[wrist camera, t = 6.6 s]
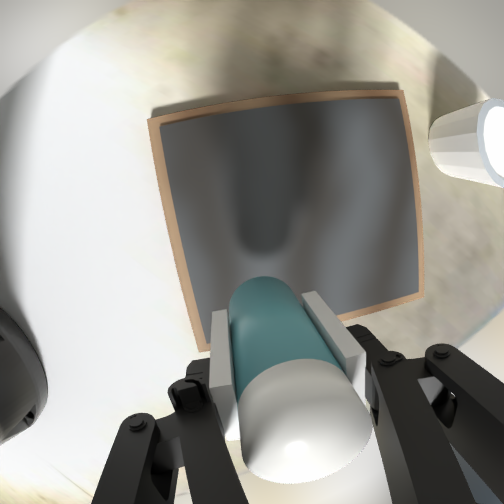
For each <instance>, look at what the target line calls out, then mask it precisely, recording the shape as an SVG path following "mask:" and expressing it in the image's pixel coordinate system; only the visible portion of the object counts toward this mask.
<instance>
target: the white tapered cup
mask: <svg viewBox="0 0 504 504" xmlns="http://www.w3.org/2000/svg"><path fill="white" fill-rule="evenodd" d="M428 142H429V149H430V154H431V156H432V158H433V161H434V163H435V165H436V166H437V167H438V168H439V169H440V170H441V171H442V172H443V173H445V174H447V175H449V176H452V177H457V178H462V179H467V180H471V181H476V182H480V183H485V184H489V185H493V186H497V187H501V188H504V101H503V100H501V99H495V98H491V99H488V100H485V101H482V102H479V103H476V104H474V105H471V106H468V107H465V108H462V109H459V110H457V111H454V112H451V113H448V114H446V115H443V116H441V117H439V118H438V119H436V120H435V121H434V123H433V124H432V126H431V128H430V132H429V138H428Z"/></svg>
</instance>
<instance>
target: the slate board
mask: <svg viewBox="0 0 504 504" xmlns="http://www.w3.org/2000/svg"><path fill="white" fill-rule="evenodd" d="M147 122H148V129H149V135H150V141H151V147H152V153H153V158H154V164H155V169H156V175H157V180H158V185H159V190H160V195H161V200H162V205H163V210H164V215H165V220H166V224H167V229H168V233H169V238H170V242H171V247H172V251H173V255H174V259H175V264H176V268H177V272H178V276H179V280H180V284H181V288H182V292H183V296H184V300H185V303H186V307H187V311H188V315H189V318H190V322H191V326H192V329H193V333H194V336H195V340H196V343H197V347H198V350H199V352H205V351H210V348H211V325H212V312H214V311H219V310H225V309H227V313H228V317H229V304H230V300H231V297H232V295H233V293H234V292H235V290H236V289H237V288H238V287H239V286H240V285H241V284H243V283H244V282H246V281H247V280H250V279H252V278H255V277H261V276H269V277H274V278H277V279H279V280H281V281H283V282H284V283H286V284H287V285H288V286H289V287H290V288H291V290H292V291H293V293H294V294H295V296H296V297H297V299H298V300H299V302H300V304H301V305H302V307H303V303H302V296H301V294H303V293H307V292H312V291H316V292H317V293H318V295H319V296H320V297H321V298H322V299H323V301H324V302H325V303H326V304H327V305H328V307H329V308H330V309H331V310H332V311H333V313H334V314H335V315H336V316H337V318H338V319H339V320H340V321H345V320H349V319H353V318H356V317H360V316H363V315H367V314H370V313H374V312H377V311H381V310H384V309H387V308H391V307H394V306H397V305H401V304H404V303H407V302H410V301H413V300H416V299H420V298H423V297H424V244H423V225H422V211H421V199H420V189H419V180H418V171H417V164H416V156H415V150H414V143H413V137H412V131H411V126H410V120H409V115H408V110H407V105H406V101H405V96H404V92H403V90H343V91H324V92H309V93H298V94H287V95H278V96H269V97H261V98H254V99H246V100H240V101H233V102H227V103H221V104H215V105H210V106H205V107H199V108H194V109H189V110H185V111H180V112H175V113H171V114H167V115H162V116H158V117H154V118H150V119H147ZM229 322H230V318H229Z"/></svg>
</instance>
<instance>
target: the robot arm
mask: <svg viewBox="0 0 504 504" xmlns="http://www.w3.org/2000/svg"><path fill="white" fill-rule="evenodd" d="M301 296H302V303H303V308H304V310H305V311H306V313H307V315H308V316H309V318H310V319H311V321H312V322H313V324H314V326H315V327H316V329H317V330H318V332H319V333H320V335H321V337H322V338H323V340H324V341H325V343H326V345H327V346H328V348H329V349H330V351H331V352H332V354H333V356H334V357H335V359H336V360H337V362H338V364H339V365H340V367H341V368H342V370H343V372H344V373H345V375H346V376H347V378H348V380H349V381H350V383H351V384H352V386H353V388H354V389H355V391H356V392H357V394H358V396H359V397H360V399H361V400H362V402H363V404H364V405H365V407H366V399H367V401H368V402H369V404H370V416H371V419H372V423H373V427H374V431H375V434H376V438H377V442H378V446H379V450H380V453H381V457H382V461H383V465H384V469H385V473H386V477H387V482H388V486H389V490H390V495H391V499H392V504H478V503H476V502H475V500H474V498H473V495H472V493H471V491H470V488H469V486H468V483H467V481H466V479H465V476H464V474H463V472H462V470H461V467H460V465H459V463H458V461H457V458H456V456H455V454H454V452H453V450H452V448H451V445H452V446H453V447H454V448H455V449H456V450H457V451H458V453H459V454H460V455H461V456H462V457H463V458H464V460H465V461H466V462H467V463H468V464H469V465H470V466H471V467H472V469H473V470H474V471H475V472H476V473H477V474H478V475H479V477H480V478H481V479H482V480H483V481H484V482H485V483H486V484H487V486H488V487H489V488H490V489H491V490H492V492H493V493H494V494H495V495H496V496H497V497H498V498H499V499H500V501H501V502H502V503H503V504H504V383H502V382H501V381H500V380H498V379H497V378H496V377H494V376H493V375H492V374H490V373H489V372H488V371H486V370H485V369H484V368H482V367H481V366H480V365H478V364H477V363H475V362H474V361H473V360H471V359H470V358H469V357H467V356H466V355H465V354H463V353H462V352H461V351H459V350H458V349H456V348H455V347H453V346H451V345H449V344H435V345H432V346H430V347H429V348H427V350H426V351H425V357H423V358H416V359H406V358H405V356H404V355H403V354H401V353H399V352H395V351H388V350H387V349H386V348H385V347H384V346H383V345H382V343H381V342H380V341H379V340H378V339H377V338H376V337H375V336H374V335H373V334H372V333H371V332H370V331H369V330H368V329H367V328H366V327H364V326H361V325H359V324H356V325H353V326H349V327H345V326H344V325H343V324H342V322H341V321H340V320H339V319H338V318H337V316H336V315H335V314H334V313H333V311H332V310H331V309H330V308H329V307H328V305H327V304H326V303H325V302H324V301H323V299H322V298H321V297H320V296H319V295H318V293H317V292H316V291H312V292H307V293H303V294H301ZM451 392H452V393H453V394H454V395H455V396H454V395H453V394H451ZM47 393H48V392H47V382H46V378H45V374H44V371H43V368H42V365H41V363H40V361H39V358H38V356H37V354H36V352H35V351H34V349H33V347H32V345H31V344H30V342H29V340H28V339H27V337H26V336H25V335H24V333H23V332H22V330H21V329H20V328H19V327H18V325H17V324H16V323H15V322H14V321H13V320H12V319H11V318H10V317H9V316H8V315H7V314H6V313H5V312H4V311H3V310H2V309H1V308H0V445H2V444H3V443H5V442H7V441H8V440H10V439H11V438H13V437H15V436H16V435H18V434H19V433H21V432H22V431H24V430H26V429H27V428H29V427H30V426H32V425H33V424H34V423H35V421H36V420H37V419H38V417H39V415H40V414H41V412H42V411H43V409H44V407H45V405H46V402H47ZM168 395H169V398H170V400H171V403H172V405H173V407H174V410H175V412H174V413H172V414H171V415H169V416H166V417H163V418H160V419H157V420H155V419H154V417H153V416H152V415H150V414H148V413H137V414H133V415H131V416H129V417H127V418H126V419H125V420H124V421H123V422H122V424H121V425H120V428H119V430H118V433H117V435H116V438H115V441H114V443H113V446H112V448H111V451H110V454H109V456H108V459H107V461H106V464H105V467H104V469H103V472H102V475H101V478H100V480H99V483H98V486H97V489H96V491H95V494H94V497H93V500H92V503H91V504H174V498H175V491H176V484H177V478H178V471H179V468H180V467H183V466H185V470H186V475H187V480H188V485H189V489H190V494H191V497H192V502H193V504H249V503H248V500H247V498H246V496H245V493H244V491H243V488H242V486H241V483H240V480H239V478H238V475H237V473H236V470H235V467H234V465H233V462H232V459H231V457H230V454H229V451H228V449H227V446H226V443H225V437H226V440H227V441H232V440H238V439H240V431H239V421H238V411H237V397H236V386H235V375H234V364H233V352H232V340H231V328H230V322H229V317H228V313H227V309H225V310H219V311H214V312H212V325H211V348H210V358H205V359H199V360H193V361H192V362H191V363H190V364H189V365H188V367H187V370H186V377H185V378H183V379H180V380H178V381H176V382H175V383H173V384H172V385H171V386H170V387H169V388H168ZM450 444H451V445H450Z"/></svg>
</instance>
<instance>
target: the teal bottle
mask: <svg viewBox="0 0 504 504" xmlns="http://www.w3.org/2000/svg"><path fill="white" fill-rule="evenodd" d="M229 318H230V328H231V340H232V352H233V364H234V375H235V386H236V397H237V411H238V421H239V431H240V441H241V450H242V457H243V461H244V463H245V465H246V466H247V468H248V469H249V470H250V471H251V472H252V473H254V474H255V475H257V476H258V477H260V478H262V479H265V480H268V481H272V482H277V483H289V484H290V483H291V484H292V483H303V482H309V481H313V480H317V479H320V478H323V477H326V476H328V475H330V474H332V473H335V472H336V471H338V470H340V469H342V468H343V467H344V466H346V465H347V464H349V463H350V462H351V461H353V460H354V459H355V458H356V457H357V456H358V455H359V454H360V452H362V450H363V449H364V447H365V446H366V445H367V443H368V441H369V439H370V436H371V433H372V419H371V416H370V414H369V412H368V410H367V408H366V407H365V405H364V404H363V402H362V400H361V399H360V397H359V396H358V394H357V392H356V391H355V389H354V388H353V386H352V384H351V383H350V381H349V380H348V378H347V376H346V375H345V373H344V372H343V370H342V368H341V367H340V365H339V364H338V362H337V360H336V359H335V357H334V356H333V354H332V352H331V351H330V349H329V348H328V346H327V345H326V343H325V341H324V340H323V338H322V337H321V335H320V333H319V332H318V330H317V329H316V327H315V326H314V324H313V322H312V321H311V319H310V318H309V316H308V315H307V313H306V311H305V310H304V308H303V307H302V305H301V304H300V302H299V300H298V299H297V297H296V296H295V294H294V293H293V291H292V290H291V288H290V287H289V286H288V285H287V284H286V283H284V282H283V281H281V280H279V279H277V278H274V277H269V276H261V277H255V278H252V279H250V280H247V281H246V282H244V283H243V284H241V285H240V286H239V287H238V288H237V289H236V290H235V292H234V293H233V295H232V297H231V300H230V304H229Z"/></svg>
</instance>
